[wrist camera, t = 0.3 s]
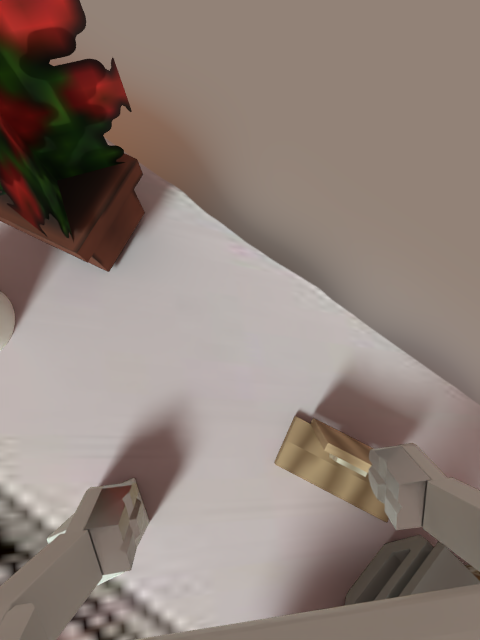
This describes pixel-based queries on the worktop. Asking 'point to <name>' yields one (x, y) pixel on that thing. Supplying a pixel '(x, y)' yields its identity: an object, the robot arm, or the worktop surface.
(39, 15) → the potted plant
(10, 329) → the cylinder
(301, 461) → the light brown rectangular block
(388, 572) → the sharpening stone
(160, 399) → the worktop surface
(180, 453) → the worktop surface
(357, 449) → the plank
